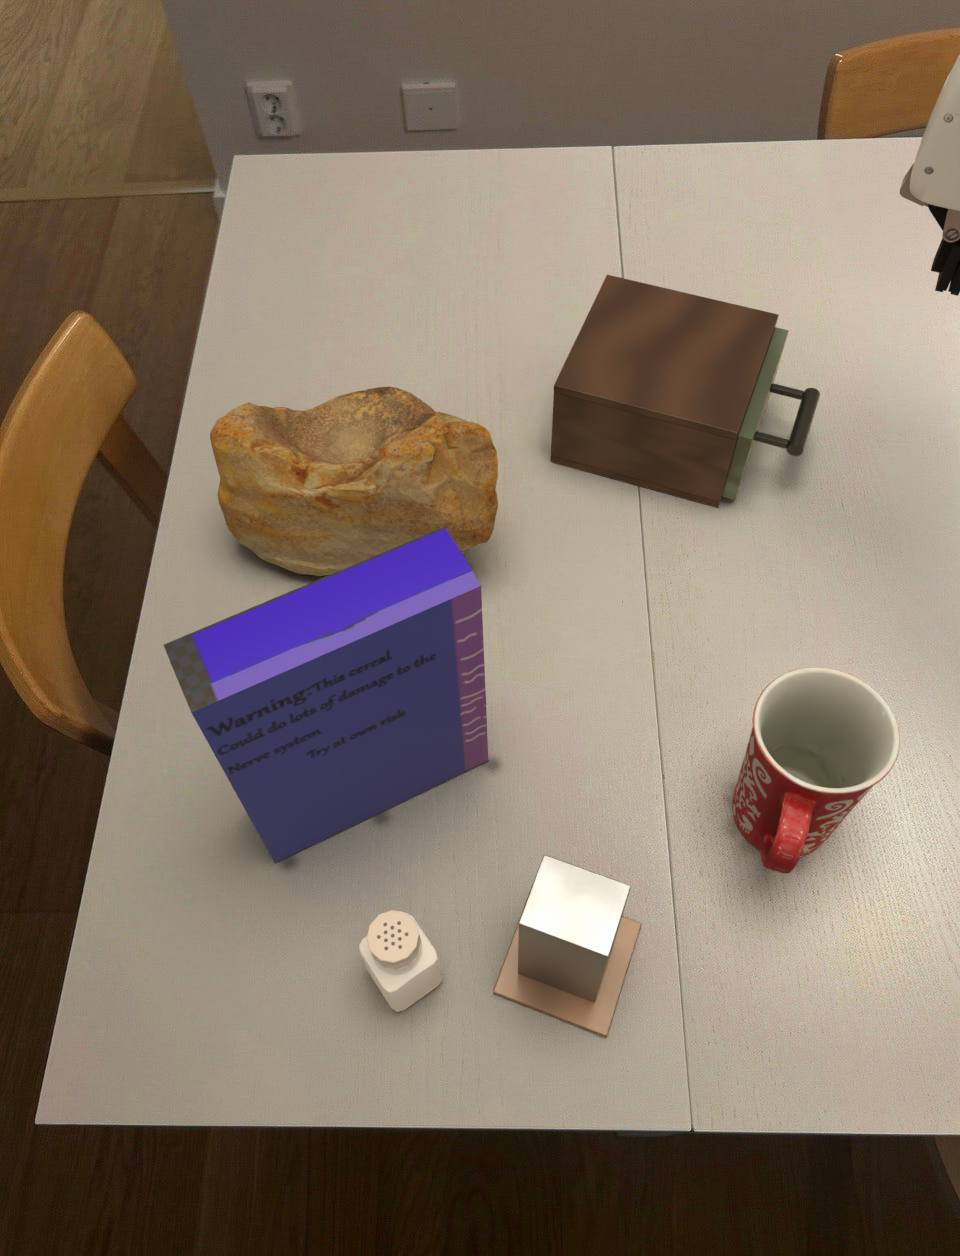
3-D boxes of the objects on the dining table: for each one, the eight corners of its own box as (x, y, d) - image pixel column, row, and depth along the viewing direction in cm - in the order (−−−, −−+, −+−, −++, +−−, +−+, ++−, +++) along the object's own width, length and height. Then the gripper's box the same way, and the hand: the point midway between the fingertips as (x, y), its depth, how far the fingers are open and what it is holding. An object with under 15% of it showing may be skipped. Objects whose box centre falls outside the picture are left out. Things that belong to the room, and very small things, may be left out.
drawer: (815, 405, 98) (837, 341, 91) (783, 513, 92) (804, 452, 85) (621, 357, 102) (628, 292, 95) (576, 456, 96) (581, 394, 89)
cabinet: (757, 393, 100) (779, 314, 92) (718, 508, 93) (738, 433, 85) (599, 354, 104) (606, 274, 95) (550, 461, 96) (553, 385, 88)
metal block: (615, 939, 73) (631, 885, 63) (595, 1003, 71) (608, 957, 61) (539, 911, 74) (543, 854, 64) (517, 973, 72) (518, 923, 62)
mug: (740, 736, 81) (778, 645, 70) (857, 782, 79) (916, 696, 68) (684, 881, 76) (715, 808, 64) (809, 936, 73) (864, 870, 62)
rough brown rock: (526, 467, 97) (525, 332, 85) (493, 608, 87) (487, 478, 76) (284, 441, 101) (251, 308, 89) (226, 574, 91) (180, 445, 79)
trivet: (641, 924, 74) (641, 922, 74) (606, 1037, 70) (606, 1036, 70) (532, 885, 76) (533, 883, 75) (493, 993, 72) (492, 991, 71)
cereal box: (460, 712, 83) (444, 524, 63) (488, 761, 81) (481, 583, 60) (251, 809, 79) (162, 642, 59) (275, 863, 77) (190, 710, 57)
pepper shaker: (365, 968, 73) (347, 927, 65) (414, 934, 74) (402, 890, 66) (397, 1017, 71) (382, 982, 63) (446, 982, 72) (438, 943, 64)
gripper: (917, 31, 60) (833, 291, 75) (1202, 80, 57) (1053, 340, 72) (937, -35, 64) (853, 226, 79) (1206, 8, 60) (1063, 271, 76)
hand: (949, 280), depth 76 cm, fingers closed
